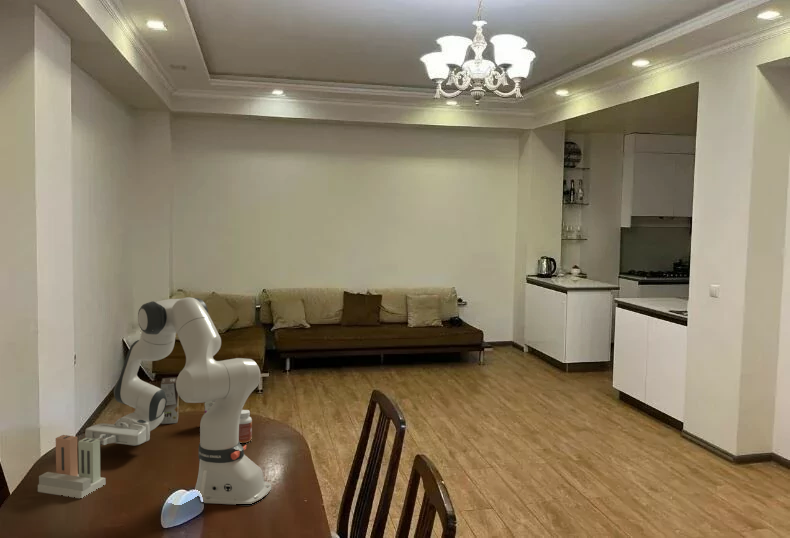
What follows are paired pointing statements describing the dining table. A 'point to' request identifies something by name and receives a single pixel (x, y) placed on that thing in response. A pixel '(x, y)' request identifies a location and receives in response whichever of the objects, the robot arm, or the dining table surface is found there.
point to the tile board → (72, 492)
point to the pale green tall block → (89, 458)
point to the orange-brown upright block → (66, 455)
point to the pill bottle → (245, 426)
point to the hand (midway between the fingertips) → (99, 442)
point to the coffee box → (170, 400)
